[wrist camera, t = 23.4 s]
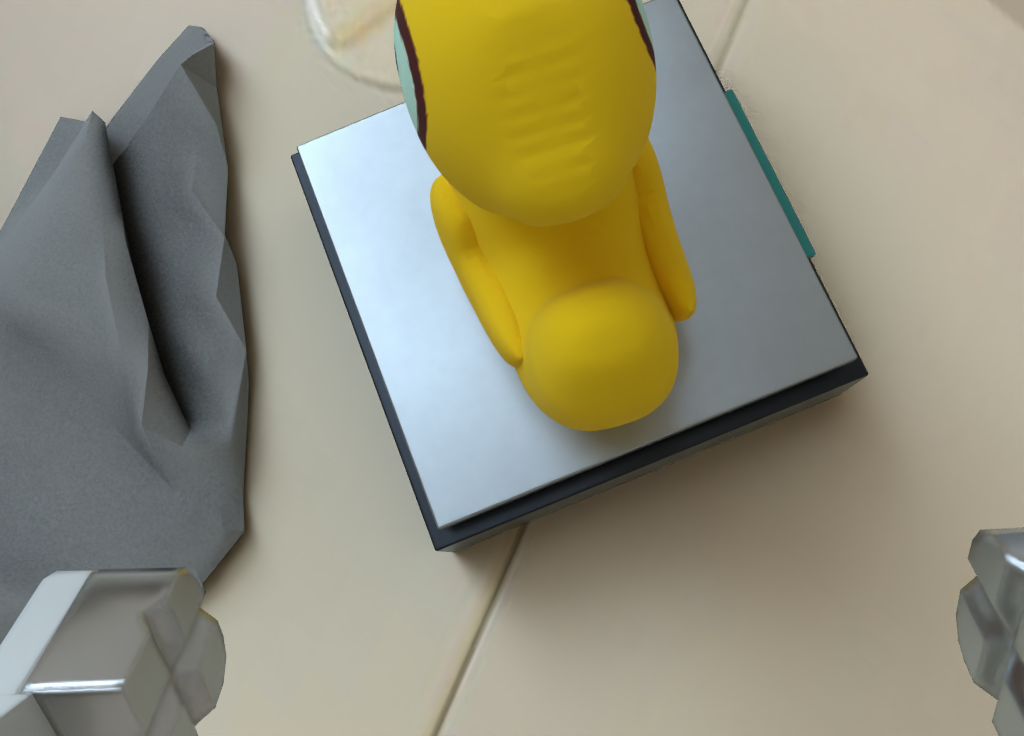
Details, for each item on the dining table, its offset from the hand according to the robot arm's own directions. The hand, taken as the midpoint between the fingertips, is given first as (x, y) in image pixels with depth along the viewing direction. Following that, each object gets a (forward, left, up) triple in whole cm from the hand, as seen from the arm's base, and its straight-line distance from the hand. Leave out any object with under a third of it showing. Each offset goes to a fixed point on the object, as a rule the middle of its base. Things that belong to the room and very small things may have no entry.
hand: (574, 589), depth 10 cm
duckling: (-2, -8, -13) cm, 15 cm away
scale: (-3, -8, -16) cm, 18 cm away
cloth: (+13, -10, -16) cm, 23 cm away
